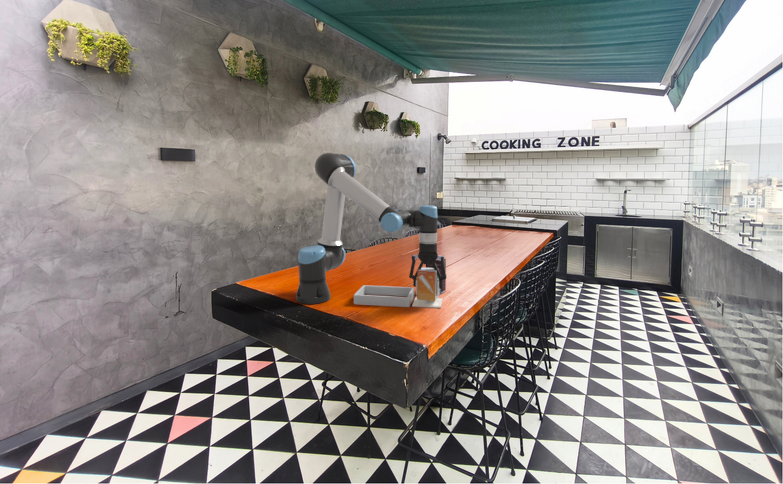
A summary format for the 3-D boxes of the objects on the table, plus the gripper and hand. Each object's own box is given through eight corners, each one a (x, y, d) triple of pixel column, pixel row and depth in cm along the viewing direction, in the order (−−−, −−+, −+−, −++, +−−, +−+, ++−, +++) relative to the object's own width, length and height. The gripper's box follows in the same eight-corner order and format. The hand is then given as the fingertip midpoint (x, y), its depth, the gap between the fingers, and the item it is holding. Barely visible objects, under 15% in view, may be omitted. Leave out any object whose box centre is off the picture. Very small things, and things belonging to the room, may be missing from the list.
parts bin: (353, 304, 164) (353, 295, 164) (363, 293, 180) (363, 285, 179) (409, 307, 160) (409, 297, 159) (414, 295, 175) (414, 287, 175)
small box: (416, 299, 163) (416, 270, 161) (420, 295, 169) (420, 266, 167) (435, 301, 161) (435, 271, 159) (438, 297, 167) (438, 268, 165)
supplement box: (445, 291, 183) (446, 258, 180) (442, 293, 178) (442, 260, 176) (429, 289, 187) (429, 257, 184) (425, 291, 182) (425, 258, 180)
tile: (412, 306, 161) (412, 305, 161) (415, 298, 172) (415, 296, 172) (440, 308, 158) (440, 306, 158) (442, 299, 170) (442, 298, 170)
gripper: (401, 243, 160) (401, 295, 163) (453, 244, 156) (452, 298, 159) (404, 240, 167) (404, 290, 170) (453, 241, 163) (452, 293, 167)
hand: (427, 294), depth 165 cm, fingers closed on small box, 8 cm apart
